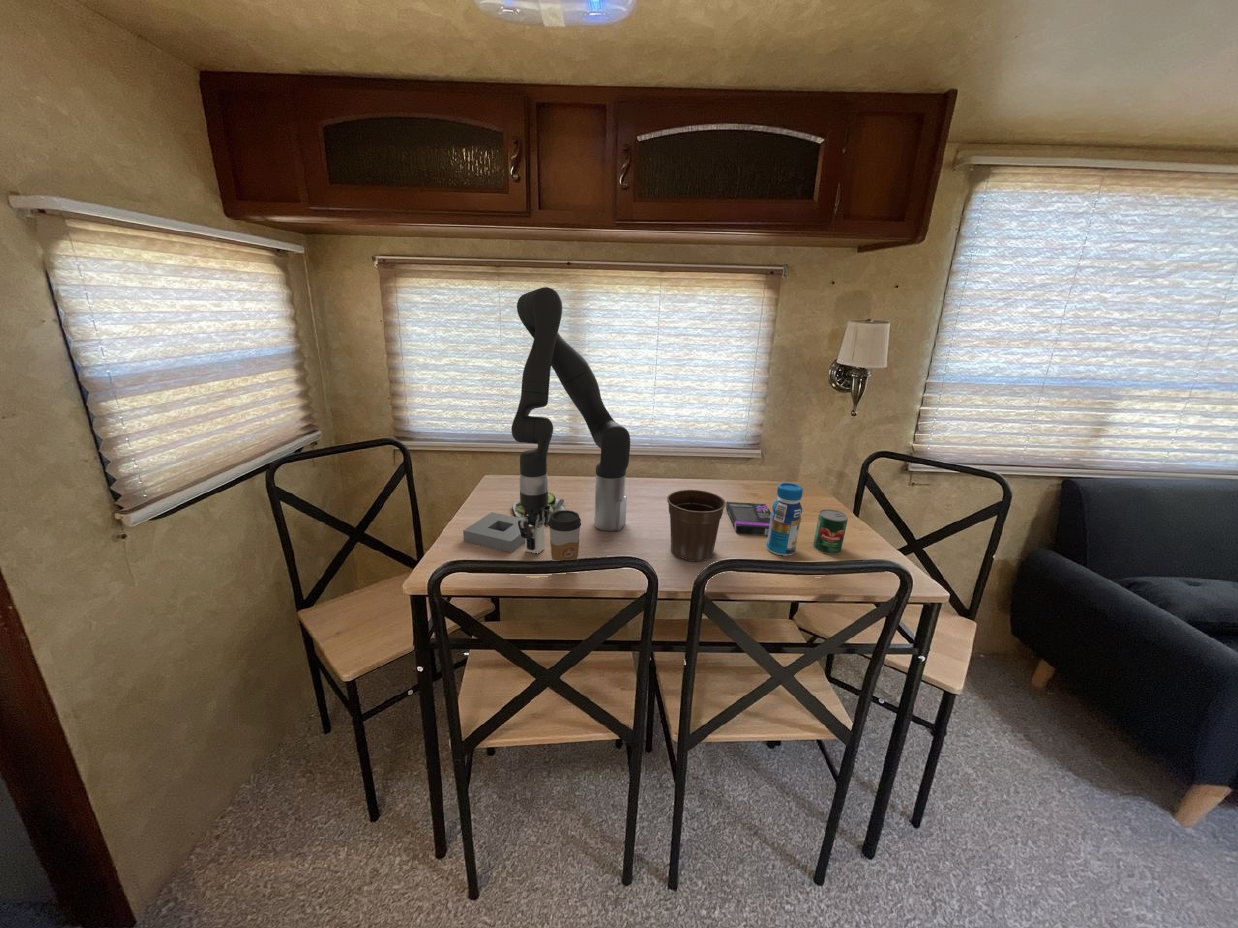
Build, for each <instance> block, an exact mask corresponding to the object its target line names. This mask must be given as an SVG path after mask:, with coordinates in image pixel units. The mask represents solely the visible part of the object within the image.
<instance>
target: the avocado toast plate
mask: <svg viewBox="0 0 1238 928" xmlns="http://www.w3.org/2000/svg"><path fill="white" fill-rule="evenodd" d="M564 502H565V499H563V498H560V499H557V498H556V496H555V495H554V493H552V492H549V491H548V505H550V509H549V516H548V523H549V519H550V517H551V514H552V513H554V512H557V511H561V510H565V508H564V506H563V504H564ZM512 511H513V513H514V515H515V517H517V518H522V519H524V515H522V514H524V511H525V510H524V508H523V507H522V506H521V505H520V500H517V501H515V502H514V503H513V504H512ZM544 513H545V512H544ZM544 518H545V517H544Z"/></svg>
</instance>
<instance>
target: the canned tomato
mask: <svg viewBox="0 0 1238 928" xmlns="http://www.w3.org/2000/svg"><path fill="white" fill-rule="evenodd" d="M848 520H849V516H848V515H847V514H846V513H844V512H842V511H840V510H836V509H831V508H830V509H828V508H826V509H821V510H819V512H818V517H817V522H816V528H815V534H814V538H813V544H812V547H813V548H814V550H816V551H817V550H818V551H817V552H819V551H820V552H819V553H821V552H823V553H822V554H824V553H827V554H826V555H829V554H836V555H839V554H841V553H842V549H843V544H844V539H845V534H846V531H847V530H846V529H847V525H848Z"/></svg>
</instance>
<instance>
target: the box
mask: <svg viewBox="0 0 1238 928" xmlns="http://www.w3.org/2000/svg"><path fill="white" fill-rule="evenodd" d="M725 502H726V506H725V510H726V513H727V515H728V517H729V519H730V522H731V525H732V527H733V528H734V531H735V533H736V534H745V535H746V534H747V535H765V536H768V532H769V525H770V514H771V512H772V511H771V510H770V508H769V507H768V505H767V504H766V503H755V502H736V501H734V502H733V501H725Z"/></svg>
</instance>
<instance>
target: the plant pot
mask: <svg viewBox="0 0 1238 928" xmlns="http://www.w3.org/2000/svg"><path fill="white" fill-rule="evenodd" d="M666 502H667V503H668V513H669V517H670V519H669V521H670V522H669V523H670V526H669V527H670V552H671V553H672V554H673V555H674V556H675V557H677V558H679V559H685V560H686V561H687V562H688V561H689V562H703V561H707V560H709V559H710V558H711V557H712V556H713V555H714V551H715V547H716V546H715V545H716V542H717V537H718V532H719V531H718V530H719V527H720V522H721V519H722V518H723V512H724V510H725V509H726V502H727V501H726V500H725V499H724V498H723V497H721V496H720V495H718V494H715V493H712V492H709V491H706V490H699V489H682V490H681V489H680V490H677V491H674V492H673V491H672V492H670V494H668V496H667V497H666Z"/></svg>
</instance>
